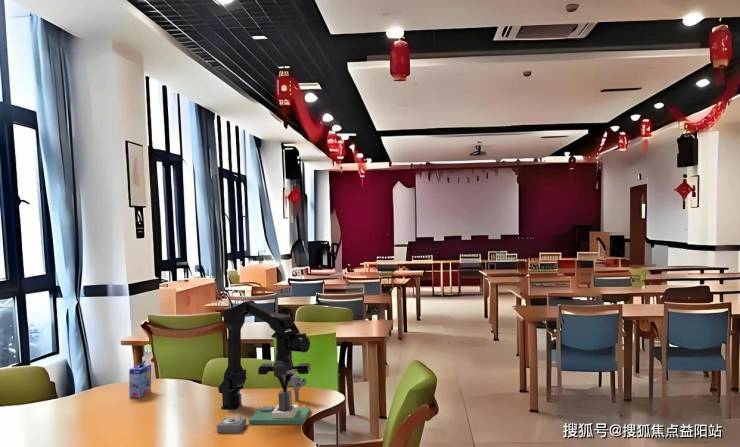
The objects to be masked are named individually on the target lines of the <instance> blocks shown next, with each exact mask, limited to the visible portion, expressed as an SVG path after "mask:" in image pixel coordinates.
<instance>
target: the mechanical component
mask: <svg viewBox="0 0 740 447" xmlns="http://www.w3.org/2000/svg"><path fill="white" fill-rule="evenodd" d="M306 385H307V378H306V377H304V376H303V377H302V378H301V376H300V374H299V375H298V374H294V375H293V376H292V377H291V379H290V382H289V385H288V386H291V387H293V391H294V402H298V400H299V399H300V397H299V394H300V393H299V391H300V390H301V389H300V388H302V387H305V386H306ZM299 401H300V400H299Z"/></svg>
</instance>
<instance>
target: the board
mask: <svg viewBox="0 0 740 447" xmlns="http://www.w3.org/2000/svg"><path fill="white" fill-rule="evenodd" d="M310 413H311V407H309V406H308V407H307V406H306V407H304V406H303V407H302V406H299V404H292V411H287V412H281V411H279V404H277V405H276V407H275V406H273V405H265V406H262V407H258V408H257V410H256V411H255V412H254V413H253V414H252V416H251V417H250V418H249V419H248V425H304V424H305V422H306V420H307V418H308V417H309V415H310Z"/></svg>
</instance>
